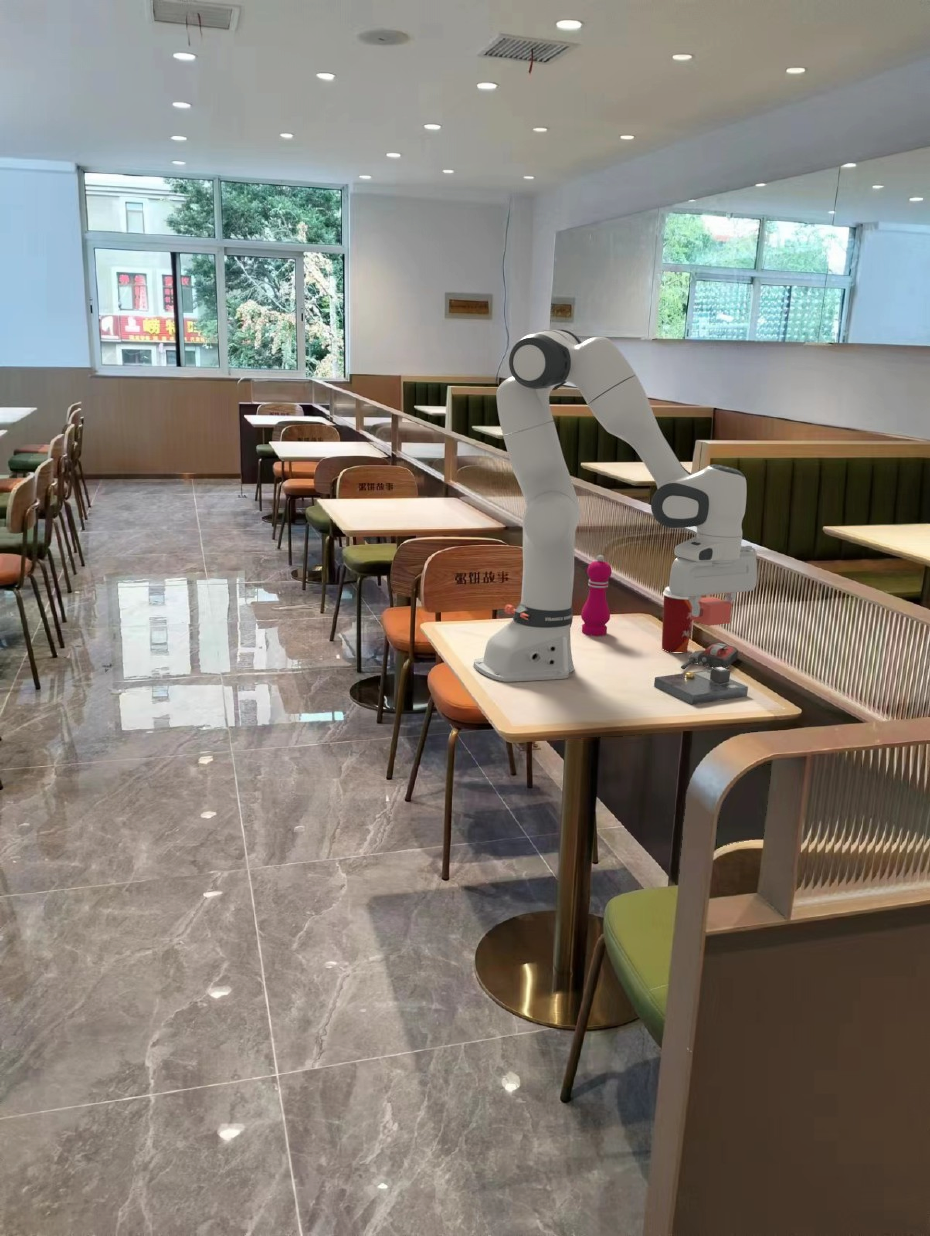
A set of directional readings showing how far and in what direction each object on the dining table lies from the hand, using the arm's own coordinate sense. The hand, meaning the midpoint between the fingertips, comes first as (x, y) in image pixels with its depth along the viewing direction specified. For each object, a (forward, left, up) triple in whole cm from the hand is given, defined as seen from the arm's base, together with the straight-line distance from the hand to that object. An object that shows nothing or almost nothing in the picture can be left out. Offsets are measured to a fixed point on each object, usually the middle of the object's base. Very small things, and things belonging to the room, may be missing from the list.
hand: (710, 614), depth 195 cm
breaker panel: (+2, +2, -17) cm, 18 cm away
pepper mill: (+7, +47, -18) cm, 51 cm away
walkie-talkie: (+17, +17, -18) cm, 30 cm away
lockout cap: (0, 0, -1) cm, 1 cm away
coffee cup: (+17, +28, -18) cm, 37 cm away
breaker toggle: (+6, +1, -15) cm, 16 cm away
